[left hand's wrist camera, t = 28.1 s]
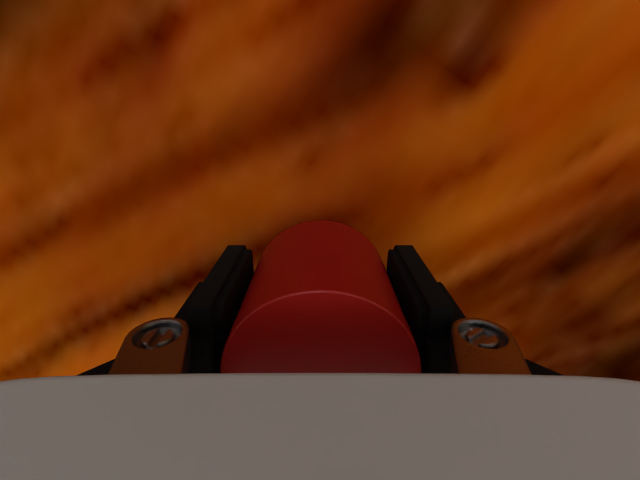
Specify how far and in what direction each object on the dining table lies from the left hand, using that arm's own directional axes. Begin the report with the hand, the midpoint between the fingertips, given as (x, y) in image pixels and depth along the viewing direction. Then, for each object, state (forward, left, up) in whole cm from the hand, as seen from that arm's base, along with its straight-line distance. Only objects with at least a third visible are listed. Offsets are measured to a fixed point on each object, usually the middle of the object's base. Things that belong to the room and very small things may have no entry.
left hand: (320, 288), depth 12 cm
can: (0, 0, 0) cm, 0 cm away
